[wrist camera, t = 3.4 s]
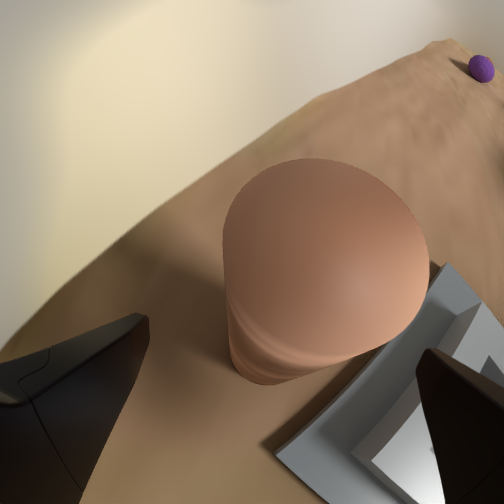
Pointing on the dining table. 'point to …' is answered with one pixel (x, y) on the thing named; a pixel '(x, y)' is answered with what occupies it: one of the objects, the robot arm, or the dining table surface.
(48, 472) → the robot arm
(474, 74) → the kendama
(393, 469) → the socket block
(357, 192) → the peg
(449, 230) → the dining table surface
